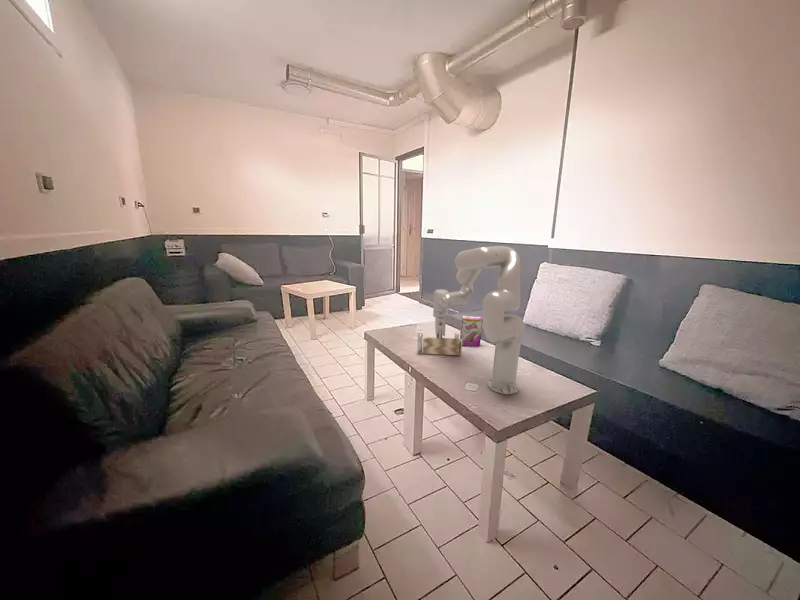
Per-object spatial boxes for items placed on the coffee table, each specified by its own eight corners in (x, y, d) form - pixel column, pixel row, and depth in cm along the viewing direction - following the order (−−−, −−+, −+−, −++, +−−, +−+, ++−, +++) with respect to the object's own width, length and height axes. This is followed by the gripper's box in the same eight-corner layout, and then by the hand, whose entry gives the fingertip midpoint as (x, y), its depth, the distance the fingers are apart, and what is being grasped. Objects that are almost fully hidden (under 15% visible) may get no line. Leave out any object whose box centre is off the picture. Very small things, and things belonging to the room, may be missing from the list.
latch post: (457, 354, 165) (459, 334, 162) (453, 354, 165) (455, 334, 163) (457, 352, 167) (458, 333, 164) (453, 352, 167) (454, 333, 164)
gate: (422, 353, 164) (423, 338, 162) (422, 352, 166) (423, 337, 164) (461, 355, 163) (462, 340, 161) (461, 354, 164) (462, 338, 162)
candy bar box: (460, 346, 176) (461, 318, 172) (459, 342, 181) (461, 315, 177) (480, 347, 175) (482, 319, 171) (479, 343, 180) (481, 316, 176)
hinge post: (421, 354, 164) (422, 334, 161) (417, 354, 164) (417, 334, 162) (421, 352, 167) (422, 333, 164) (417, 352, 167) (417, 333, 164)
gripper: (448, 318, 156) (446, 352, 160) (446, 309, 170) (445, 341, 175) (433, 317, 156) (431, 351, 161) (432, 309, 171) (431, 340, 175)
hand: (438, 346), depth 168 cm, fingers closed
